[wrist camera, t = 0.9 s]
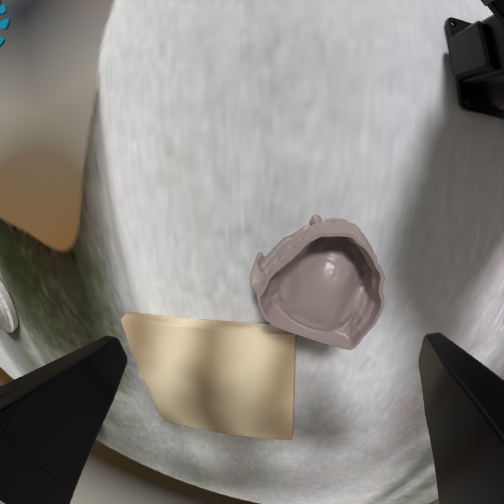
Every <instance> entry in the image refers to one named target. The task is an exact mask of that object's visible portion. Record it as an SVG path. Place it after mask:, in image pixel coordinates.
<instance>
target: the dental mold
mask: <svg viewBox="0 0 504 504" xmlns="http://www.w3.org/2000/svg"><path fill="white" fill-rule="evenodd" d="M309 224H310V225H306V226H303V227H302V228H301V229H300V230H298V231H297V232H295V233H294V234H292V235H290V236H287V237H285V238H284V239H282V240H281V241H280V242H279V243H278V244H277V245H276V246H275V247H274V248H273V249H272V250H271V252H270V253H269V254H268V255H266V256H265V257H264V256H263V254H262V253H261V252H259V253H258V255H257V257H256V259H255V262H254V265H253V267H252V270H251V273H250V285H251V288H252V290H253V291H254V293H255V294H256V296H257V301H258V307H259V309H260V310H261V314H262V316H263V318H264V319H265V320H266V321H267V322H269V323H270V324H272V325H273V326H275V327H277V328H280V329H283V330H285V331H288V332H290V333H293V334H296V335H300V336H302V337H305V338H308V339H311V340H315V341H318V342H320V343H324V344H328V345H331V346H335V347H339V348H343V349H347V350H351V349H353V348H355V347H356V346H357V345H358V344H359V343H360V341H361V340H362V339H363V337H364V336H365V335H366V334H367V333H368V332H369V330H371V329H372V328H373V326H374V325H375V324H376V322H377V320H378V318H379V317H380V315H381V312H382V310H383V307H384V294H383V286H384V280H385V278H384V273H383V271H382V269H381V267H380V266H379V264H378V263H377V257H376V255H375V253H374V252H373V249H372V247H371V245H370V243H369V242H368V240H367V239H366V237H365V236H364V234H363V233H362V232H361V230H360V229H359V228H358V227H357V226H356V225H355V224H353V223H349V222H348V221H347V220H345V219H335V218H331V219H325V220H322V219H321V217H320V216H319V215H314V216H312V218H311V220H310V222H309Z"/></svg>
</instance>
